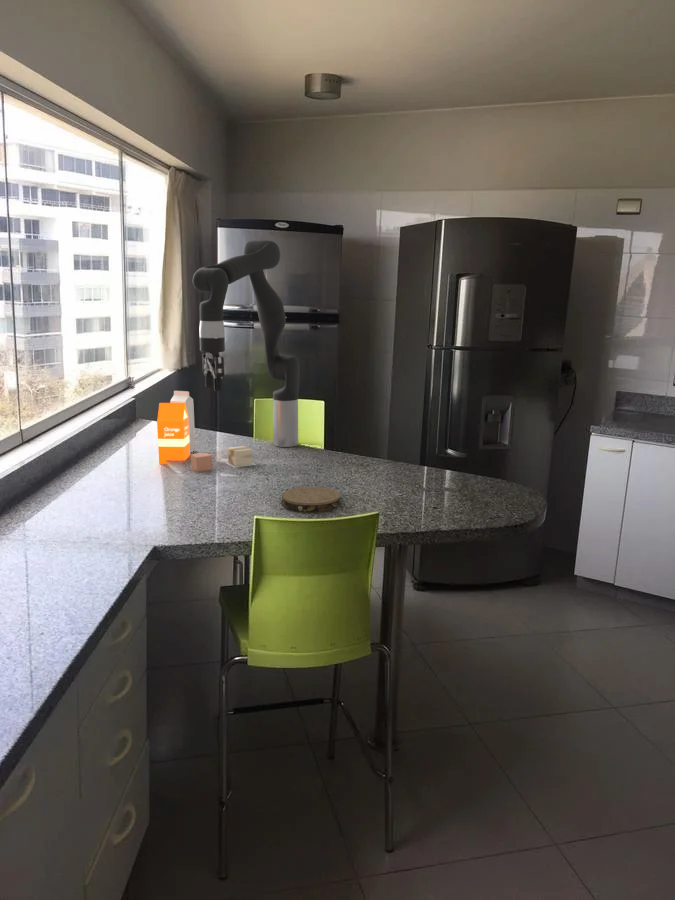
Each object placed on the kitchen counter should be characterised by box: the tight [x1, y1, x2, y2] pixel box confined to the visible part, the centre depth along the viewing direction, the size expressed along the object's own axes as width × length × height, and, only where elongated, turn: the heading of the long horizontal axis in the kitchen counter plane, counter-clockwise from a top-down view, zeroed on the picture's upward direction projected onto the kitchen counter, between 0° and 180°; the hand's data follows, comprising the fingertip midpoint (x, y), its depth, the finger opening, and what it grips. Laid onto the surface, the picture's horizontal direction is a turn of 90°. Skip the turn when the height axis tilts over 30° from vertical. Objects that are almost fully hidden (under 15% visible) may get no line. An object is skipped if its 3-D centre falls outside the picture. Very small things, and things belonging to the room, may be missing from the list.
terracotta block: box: [190, 452, 213, 473], centre depth 227 cm, size 5×5×6 cm
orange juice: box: [156, 402, 191, 465], centre depth 240 cm, size 8×9×20 cm
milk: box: [169, 390, 196, 454], centre depth 252 cm, size 6×6×22 cm
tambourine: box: [281, 486, 341, 514], centre depth 196 cm, size 16×16×3 cm
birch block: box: [227, 445, 254, 468], centre depth 234 cm, size 6×6×5 cm
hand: (213, 389), depth 221 cm, fingers open, 8 cm apart
